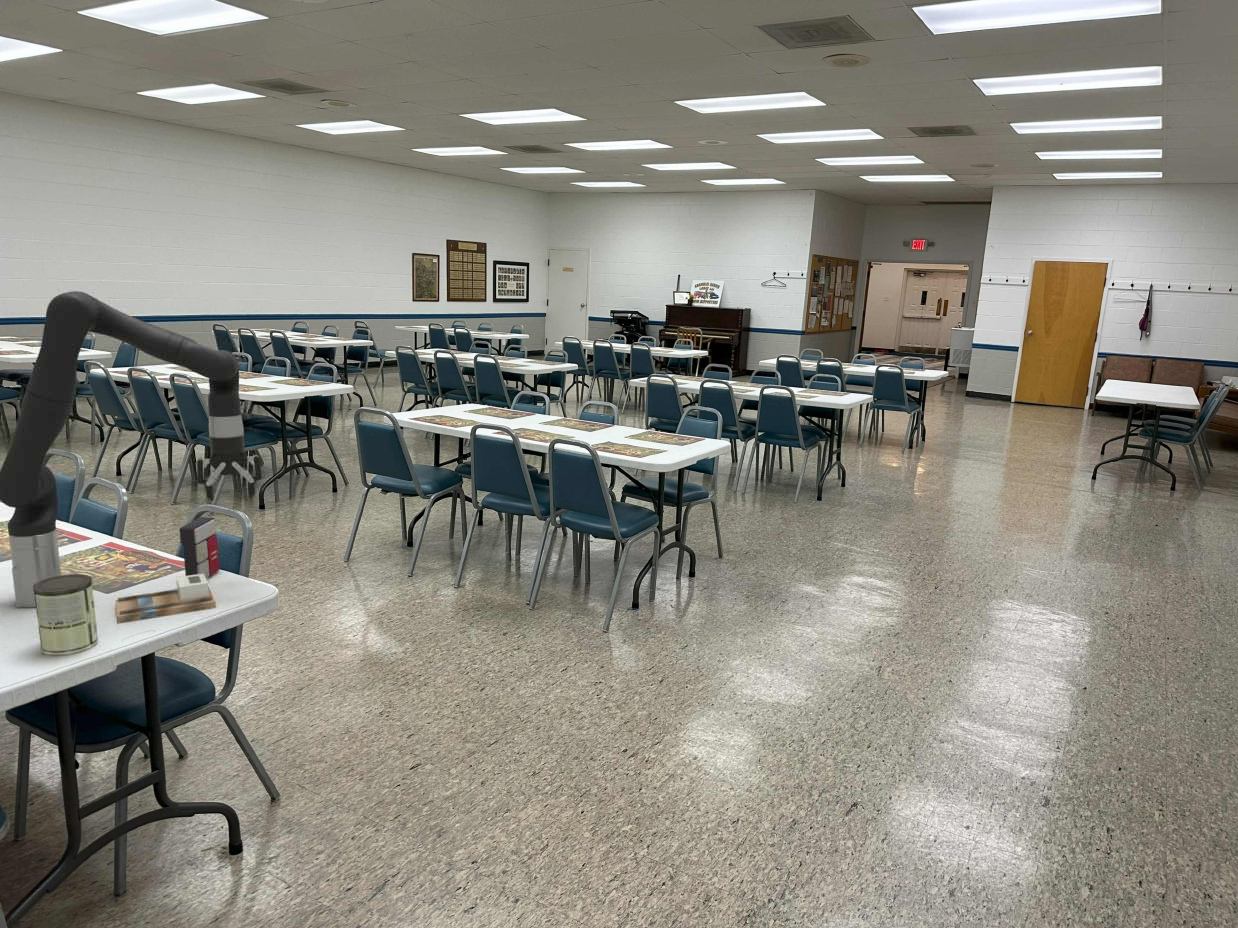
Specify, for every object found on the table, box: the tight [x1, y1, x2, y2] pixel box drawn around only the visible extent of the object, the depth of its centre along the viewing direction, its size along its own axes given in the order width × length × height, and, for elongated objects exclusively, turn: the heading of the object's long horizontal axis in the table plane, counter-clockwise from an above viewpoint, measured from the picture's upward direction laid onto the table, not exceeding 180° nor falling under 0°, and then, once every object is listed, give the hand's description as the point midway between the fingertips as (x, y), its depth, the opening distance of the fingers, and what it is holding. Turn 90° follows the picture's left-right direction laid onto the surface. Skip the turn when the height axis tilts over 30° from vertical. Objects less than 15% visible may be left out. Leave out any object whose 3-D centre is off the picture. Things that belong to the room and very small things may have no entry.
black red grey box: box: [178, 516, 220, 580], centre depth 218 cm, size 11×4×15 cm, turn 179°
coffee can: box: [33, 573, 99, 657], centre depth 175 cm, size 10×10×14 cm
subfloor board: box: [114, 585, 217, 624], centre depth 199 cm, size 20×12×2 cm, turn 122°
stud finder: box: [176, 574, 210, 601], centre depth 202 cm, size 6×8×4 cm
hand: (231, 498), depth 207 cm, fingers open, 8 cm apart
